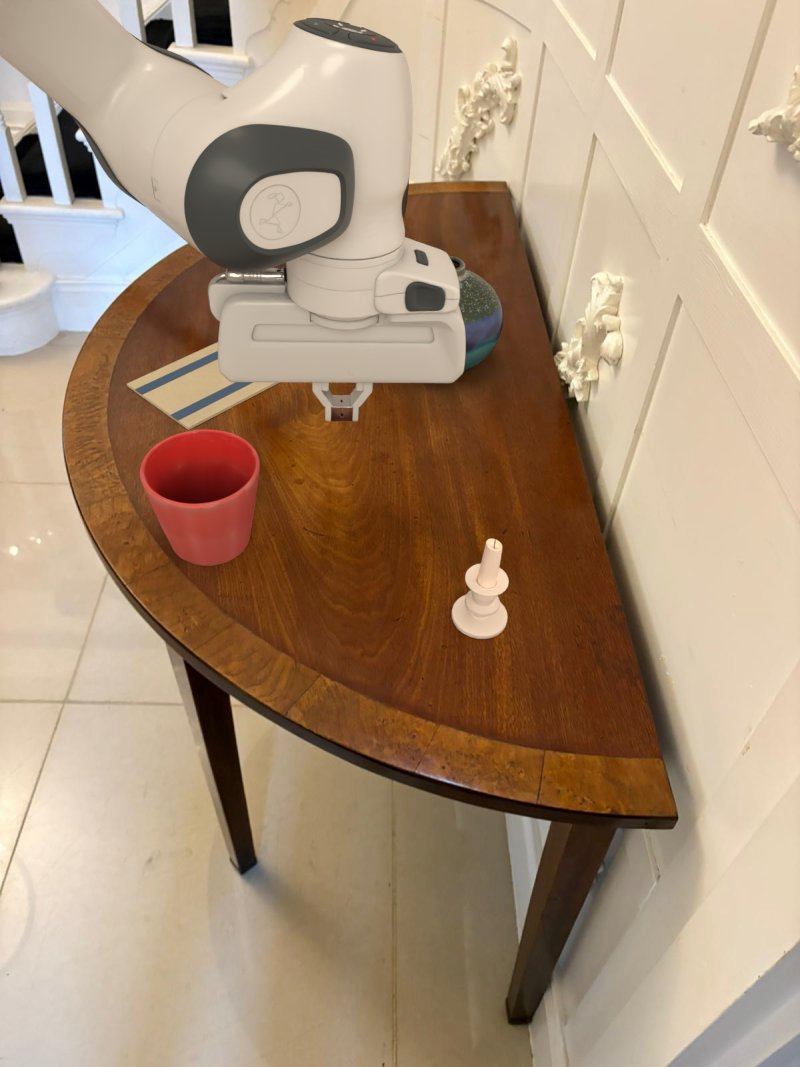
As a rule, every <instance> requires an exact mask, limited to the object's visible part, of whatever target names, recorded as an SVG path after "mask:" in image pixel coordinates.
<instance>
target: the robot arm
mask: <svg viewBox="0 0 800 1067" xmlns="http://www.w3.org/2000/svg"><path fill="white" fill-rule="evenodd" d="M287 31H288V32H287V34H286V36H285V39H284V40H283V42H282V43H281V45H279V47H278V48H277V49H276V50H275V51H274V52H273V53H272V54H271V55H270V56H269V58H268V59H266V60H265V62H263V63H262V64H261V65H260V66H259V67H258V68H256V69H255V70H254V71H253V72H252V73H250V74H248V76H246V77H244V78H243V79H241V80H240V81H238V82H236V83H235V84H233V85H232V86H231V85H230V86H228V85H226V84H224V83H223V82H221V81H219V80H218V79H216V78H215V77H213V76H212V75H211V74H210V73H209V72H207V71H206V70H204V69H203V68H201V67H200V65H198V64H196V63H195V62H194V61H192V60H190V59H189V58H187V57H185V56H183V55H182V54H181V55H180V54H178V53H176V52H174V51H171V50H168V49H166V48H162V47H160V46H157V45H153V44H152V43H148V42H145V41H143V40H141V39H139V38H138V37H136V36H135V35H133V34H132V33H131V32H129V31H128V30H127V29H126V28H125V27H124V26H123V25H122V24H121V22H119V21H118V19H116V18H115V16H113V15H112V14H111V12H110V11H109V10H108V9H107V8H105V6H104V5H103V4H102V3H101V2H100V1H99V0H0V57H1V58H2V59H3V60H4V61H6V63H8V64H9V65H10V66H11V67H13V68H14V69H15V70H17V72H19V73H20V74H21V75H22V76H23V77H25V78H26V79H27V80H29V82H31V83H32V84H33V85H34V86H36V87H37V88H38V89H39V90H40V91H42V92H43V93H45V95H47V96H48V97H49V98H50V99H52V100H53V101H54V102H55V103H56V104H57V105H59V107H61V108H62V109H63V110H64V111H65V112H66V113H67V114H68V115H69V116H70V117H71V118H72V119H73V120H74V122H75V123H76V124H77V126H78V128H79V130H80V131H81V133H82V134H83V136H84V138H85V140H86V142H87V144H88V146H89V147H90V149H91V151H92V153H93V155H94V157H95V159H96V160H97V162H98V164H99V165H100V167H101V168H102V170H103V172H104V173H105V174H106V176H107V177H108V178H109V180H110V181H111V182H112V183H113V184H114V185H115V186H116V188H118V189H119V190H120V191H121V192H123V193H124V194H125V195H127V196H128V197H129V198H131V199H132V200H134V201H135V202H137V203H139V204H140V205H141V206H143V207H145V208H146V209H147V210H148V211H150V212H151V213H152V214H153V215H154V216H155V217H157V218H158V219H159V220H160V221H161V222H163V224H165V225H166V226H167V227H168V228H170V229H171V230H172V231H173V232H174V233H176V234H177V235H178V237H180V238H182V240H184V241H185V242H186V243H187V244H189V245H190V246H191V247H192V248H193V249H195V251H197V252H198V253H199V254H200V255H202V256H203V257H204V258H206V259H208V260H209V261H211V262H212V263H214V264H215V265H216V266H218V267H220V268H223V269H225V272H221V273H218V274H216V275H215V276H214V277H212V279H211V280H210V281H209V283H208V286H207V300H208V307H209V310H210V312H211V314H212V315H213V317H214V318H215V319H216V320H217V321H218V322H219V326H218V339H217V342H218V367H219V372H220V373H221V374H222V375H223V376H224V377H225V378H226V379H227V380H228V381H230V382H280V383H300V384H301V383H304V384H305V383H309V384H310V383H311V384H312V385H311V386H312V387H311V388H312V390H311V391H312V392H313V394H314V396H315V397H316V398H317V400H318V401H319V403H320V404H321V405H322V407H324V420H325V422H359V412H360V411H359V410H360V409H359V408H360V407H361V406H362V405H363V404H364V403H365V402H366V401H367V399H368V398H369V396H370V395H371V394H372V393H373V386H374V384H453V383H454V382H455V381H457V380H458V379H459V378H460V377H461V376H462V375H463V373H464V372H465V371H464V366H465V353H466V336H465V326H464V322H463V318H462V314H461V310H460V307H459V299H460V287H459V280H458V276H457V273H456V270H455V267H454V265H453V263H452V261H451V259H450V257H449V256H450V255H449V254H448V253H447V252H446V251H445V250H442V249H441V248H437V247H434V246H432V245H429V244H426V243H423V242H420V241H416V240H414V239H411V238H409V237H406V228H405V220H404V221H403V217H402V199H403V195H404V192H405V189H406V187H407V184H408V181H409V182H410V174H411V164H412V163H411V162H412V150H413V149H412V146H413V120H414V118H413V114H414V113H413V90H412V79H411V73H410V67H409V63H408V60H407V57H406V55H405V53H404V52H403V50H402V49H401V48H400V47H399V44H397V43H396V42H394V41H393V40H392V39H390V38H388V37H386V36H385V35H383V34H381V33H378V32H376V31H373V30H371V29H368V28H366V27H363V26H357V25H353V24H351V23H349V22H346V21H341V20H336V19H331V18H322V17H307V18H305V19H304V18H303V19H300V20H295V21H294V22H292V24H291V25H290V26H289V29H288V30H287ZM283 264H285V267H278V266H280V265H283ZM330 383H332V384H334V383H337V384H348V383H349V384H352V383H353V384H355V387H354V388H353V390H352V392H350V394H332V392H331V391H330Z"/></svg>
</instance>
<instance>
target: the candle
mask: <svg viewBox="0 0 800 1067" xmlns="http://www.w3.org/2000/svg"><path fill="white" fill-rule="evenodd" d="M502 553H503V544H502V543H501V541H499V540H498V539H495V538H488V539H487V540H486V541H485V545H484V550H483V553H482V557H481V562H480V563H476V564H474V565H471V566H470V567H469V568H468V569H467V571H466V572H465V576H464V579H465V584H466V586H467V587H468V588H469V590H468V592H466V594H464V595H462V596H460V597H458V599H456V600H455V601H454V603H453V604H452V609H451V620H452V623H453V625H454V626H455V627H456V629H457V630H458V631H460V633H462V634H463V635H465V636H467V637H469V638H473V639H477V640H487V639H492V638H495V637H497V636H499V635H500V634H501V633H502V632H503V631H504V630H505V628H506V627H507V624H508V619H509V618H508V612H507V609H506V607H505V606H504V604H503V603H502V602H501V601H500V600H501V599H500V597H499V595H502V594H503V593H505V591H506V590H507V589H508V587H509V581H510V580H509V577H508V573H506V572H505V570H503V569H502V568H501V567H500V565H501V560H502Z"/></svg>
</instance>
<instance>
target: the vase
mask: <svg viewBox="0 0 800 1067" xmlns="http://www.w3.org/2000/svg"><path fill="white" fill-rule="evenodd" d="M448 256H449V257H450V259H451V261H452V263H453V265H454V267H455V270H456V273H457V276H458V280H459V287H460V299H459V307H460V310H461V314H462V318H463V322H464V326H465V336H466V353H465V366H464V371H463V372H465V371H469V370H471V369H474V368H475V367H476V366H478V365H480V364H481V363H482V362H483V361H484V360H485V359H486V358H488V356H489V355H490V354H491V353H492V352H493V351H494V349H495V347H496V346H497V344H498V342H499V341H500V340H499V339H500V337H501V334H502V331H503V327H504V308H503V304H502V301H501V298H500V296H499V294H498V292H497V291H496V289H495V288H494V287H493V286H492V284H490V282H489V281H487V280H486V279H485V278H484V277H482V276H481V275H479V273H476V272H475V271H473V270H471V269H469V268H466V262H465V261H464V260H462V259H461V258H459V257H456V256H452V255H448Z"/></svg>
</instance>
